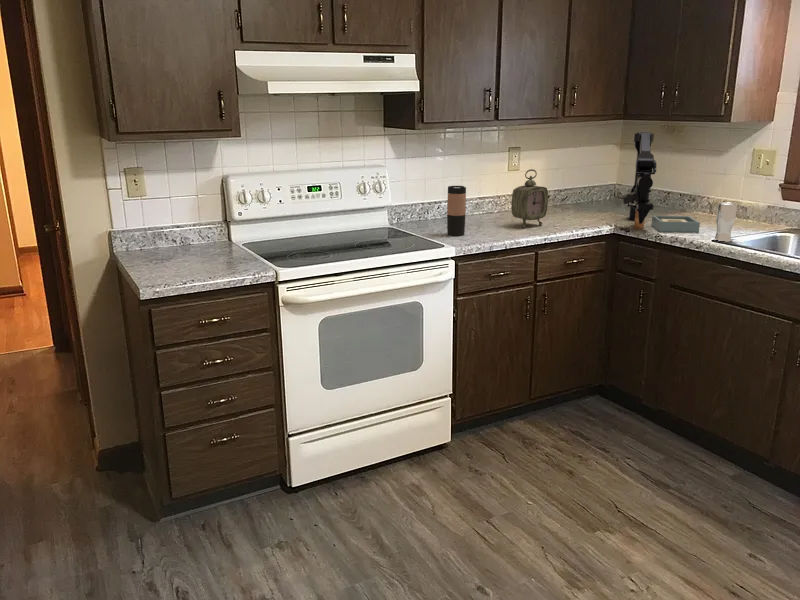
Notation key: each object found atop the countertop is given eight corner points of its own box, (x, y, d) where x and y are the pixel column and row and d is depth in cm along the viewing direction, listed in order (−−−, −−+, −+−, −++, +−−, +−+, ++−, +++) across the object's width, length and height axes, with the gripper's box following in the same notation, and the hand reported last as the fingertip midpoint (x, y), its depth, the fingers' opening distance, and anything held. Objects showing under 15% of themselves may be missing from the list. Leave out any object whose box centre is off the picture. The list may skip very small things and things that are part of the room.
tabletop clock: (523, 229, 298) (526, 171, 290) (508, 226, 305) (511, 169, 297) (546, 225, 306) (549, 169, 298) (531, 222, 313) (534, 167, 305)
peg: (633, 227, 301) (635, 207, 299) (642, 227, 301) (644, 207, 298) (634, 229, 298) (637, 208, 295) (644, 229, 297) (646, 208, 294)
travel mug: (443, 235, 286) (444, 187, 280) (452, 232, 292) (453, 185, 286) (459, 237, 282) (460, 188, 276) (468, 234, 288) (469, 186, 282)
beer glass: (712, 241, 273) (717, 204, 269) (713, 238, 279) (718, 201, 275) (731, 243, 270) (737, 205, 266) (732, 239, 276) (737, 202, 272)
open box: (651, 225, 306) (652, 215, 304) (688, 226, 304) (689, 216, 302) (659, 232, 291) (660, 221, 290) (698, 233, 289) (699, 222, 288)
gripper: (619, 183, 304) (616, 218, 308) (628, 189, 286) (624, 226, 291) (645, 184, 302) (641, 219, 307) (655, 190, 285) (651, 227, 289)
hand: (639, 222), depth 298 cm, fingers closed on peg, 4 cm apart
